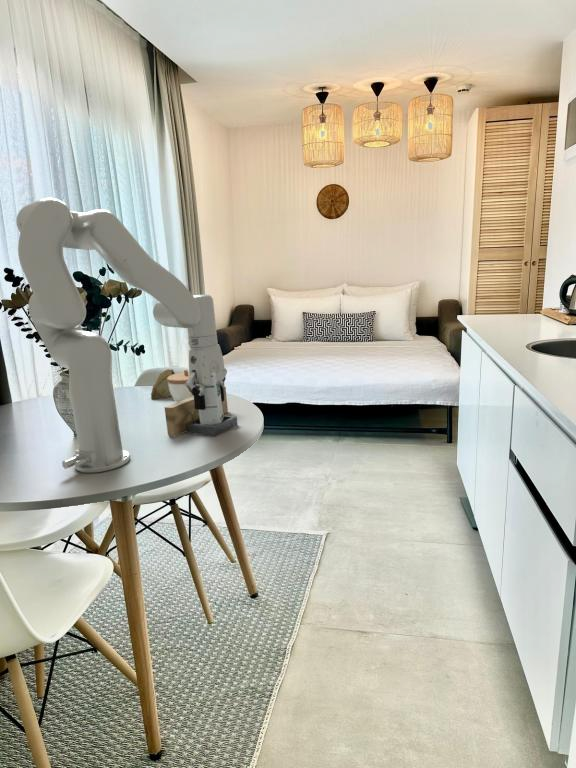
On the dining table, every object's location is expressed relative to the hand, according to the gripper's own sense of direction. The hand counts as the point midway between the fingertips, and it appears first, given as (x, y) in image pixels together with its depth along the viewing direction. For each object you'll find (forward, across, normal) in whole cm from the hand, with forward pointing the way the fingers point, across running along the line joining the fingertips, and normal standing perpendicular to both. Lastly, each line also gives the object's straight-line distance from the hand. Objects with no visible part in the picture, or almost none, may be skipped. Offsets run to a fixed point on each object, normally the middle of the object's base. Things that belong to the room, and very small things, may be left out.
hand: (210, 404), depth 144 cm
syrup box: (+5, 0, 0) cm, 5 cm away
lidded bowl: (+7, +20, +26) cm, 33 cm away
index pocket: (+7, 0, 0) cm, 7 cm away
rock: (+7, +24, +40) cm, 47 cm away
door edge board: (+7, +3, +7) cm, 10 cm away
